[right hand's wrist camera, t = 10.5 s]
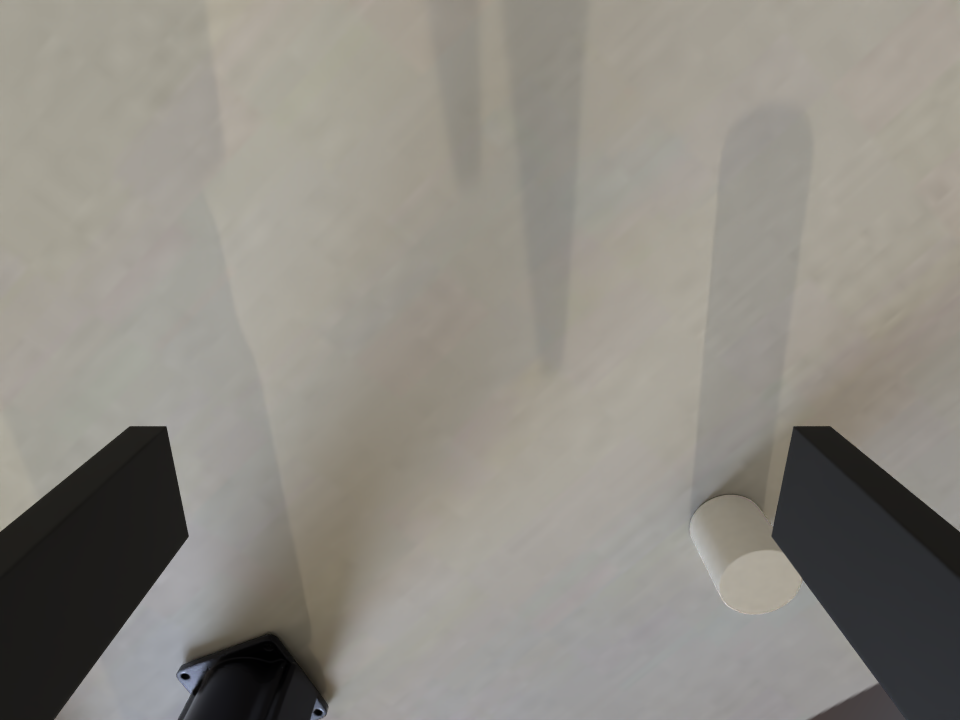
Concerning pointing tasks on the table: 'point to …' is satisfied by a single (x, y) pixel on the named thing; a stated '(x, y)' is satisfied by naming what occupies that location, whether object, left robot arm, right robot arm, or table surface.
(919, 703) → the right robot arm
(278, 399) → the table surface
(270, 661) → the left robot arm
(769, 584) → the can
